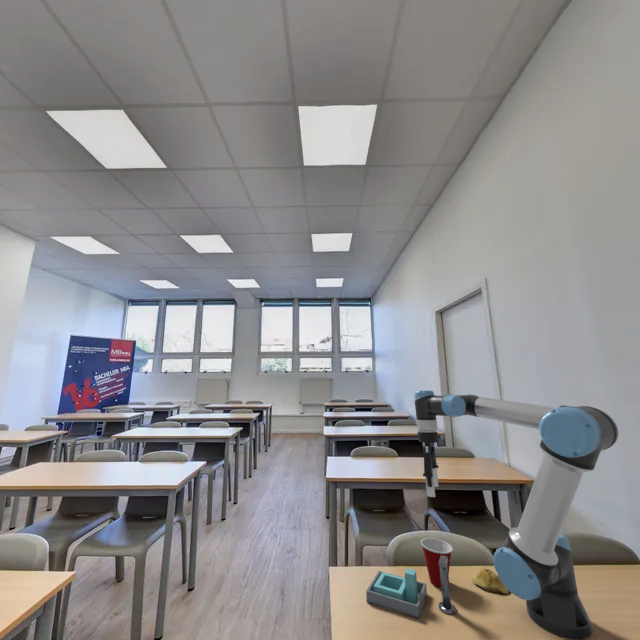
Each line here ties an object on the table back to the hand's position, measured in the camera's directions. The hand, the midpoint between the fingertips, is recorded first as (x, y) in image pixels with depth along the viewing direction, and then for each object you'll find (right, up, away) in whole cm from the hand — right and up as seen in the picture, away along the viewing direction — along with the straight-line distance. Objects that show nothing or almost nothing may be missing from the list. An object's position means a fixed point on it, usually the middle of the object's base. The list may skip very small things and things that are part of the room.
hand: (433, 491), depth 115 cm
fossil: (+17, -28, -9) cm, 34 cm away
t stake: (-3, -25, -20) cm, 32 cm away
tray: (-17, -26, -15) cm, 35 cm away
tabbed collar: (-17, -26, -15) cm, 34 cm away
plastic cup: (0, -28, -7) cm, 29 cm away
